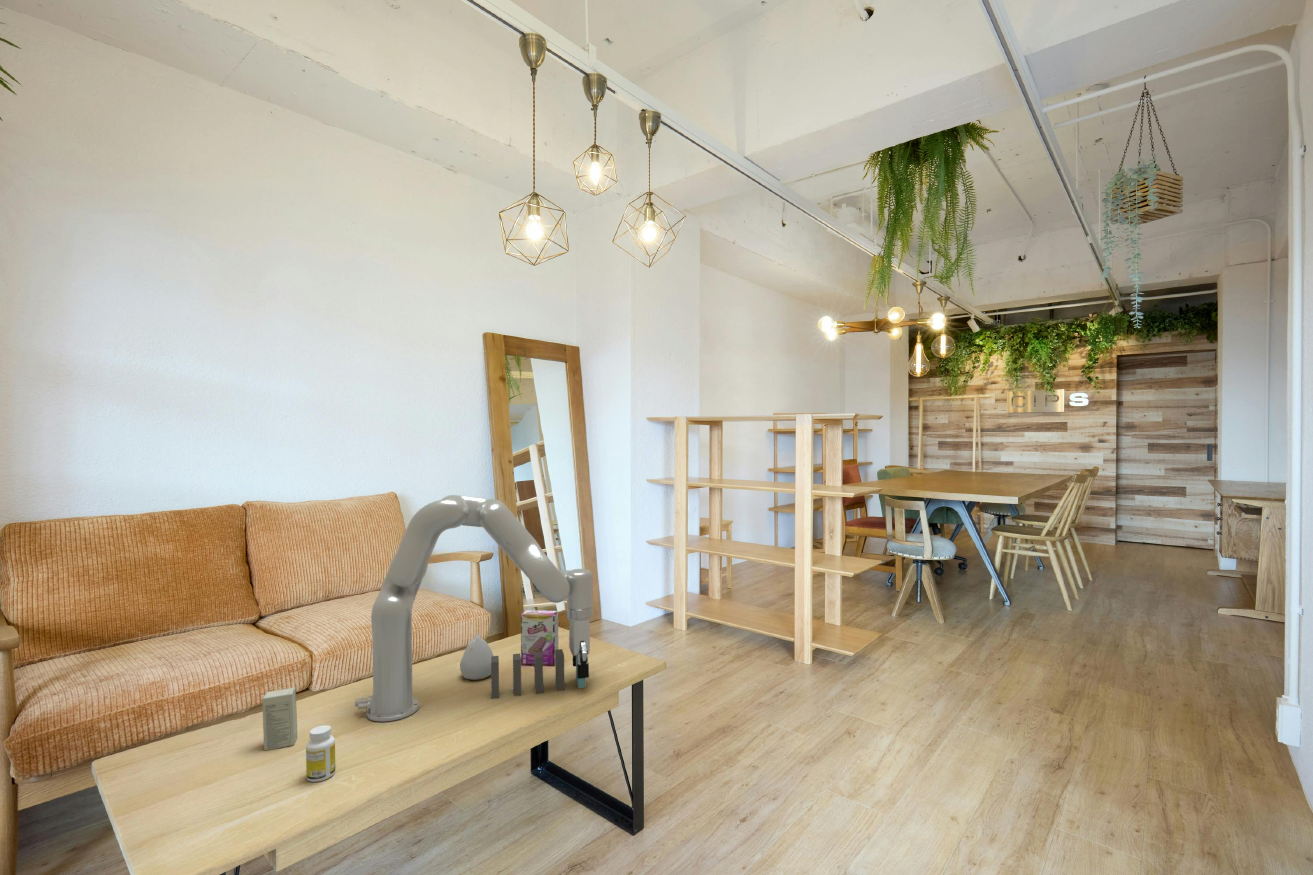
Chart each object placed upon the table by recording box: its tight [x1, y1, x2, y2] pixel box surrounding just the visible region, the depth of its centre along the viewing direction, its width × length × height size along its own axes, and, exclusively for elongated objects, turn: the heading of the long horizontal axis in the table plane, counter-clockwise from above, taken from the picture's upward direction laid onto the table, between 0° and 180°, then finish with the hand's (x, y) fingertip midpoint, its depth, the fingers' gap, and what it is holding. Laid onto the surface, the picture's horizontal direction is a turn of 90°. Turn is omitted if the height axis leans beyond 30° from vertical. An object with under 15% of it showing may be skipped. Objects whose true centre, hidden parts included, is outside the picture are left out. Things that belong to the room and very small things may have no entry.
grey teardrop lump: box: [459, 634, 495, 681], centre depth 182 cm, size 10×10×12 cm
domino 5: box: [575, 652, 587, 689], centre depth 174 cm, size 2×5×10 cm, turn 16°
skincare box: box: [261, 687, 298, 751], centre depth 141 cm, size 6×4×12 cm
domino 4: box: [554, 648, 565, 692], centre depth 173 cm, size 2×5×10 cm, turn 15°
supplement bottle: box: [305, 724, 336, 783], centre depth 127 cm, size 5×5×10 cm
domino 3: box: [533, 651, 544, 694], centre depth 171 cm, size 2×5×10 cm, turn 16°
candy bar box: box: [520, 609, 559, 667], centre depth 192 cm, size 11×5×16 cm, turn 84°
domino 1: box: [490, 655, 500, 700], centre depth 168 cm, size 2×5×10 cm, turn 16°
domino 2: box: [512, 652, 522, 697], centre depth 169 cm, size 2×5×10 cm, turn 15°
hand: (580, 671), depth 174 cm, fingers open, 9 cm apart
